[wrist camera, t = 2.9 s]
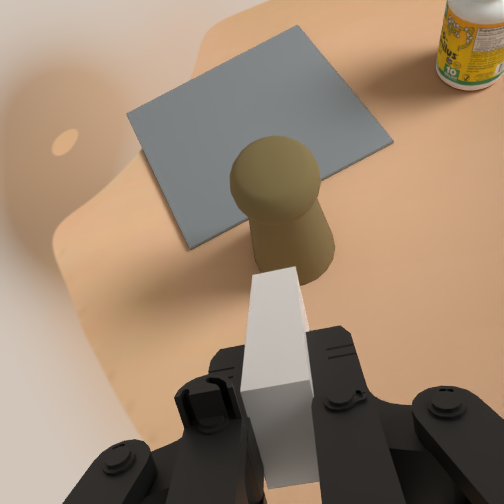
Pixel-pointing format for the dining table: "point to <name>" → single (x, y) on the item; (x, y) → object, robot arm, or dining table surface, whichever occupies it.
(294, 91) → the mat
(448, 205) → the dining table surface
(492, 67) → the supplement bottle
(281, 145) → the cork
